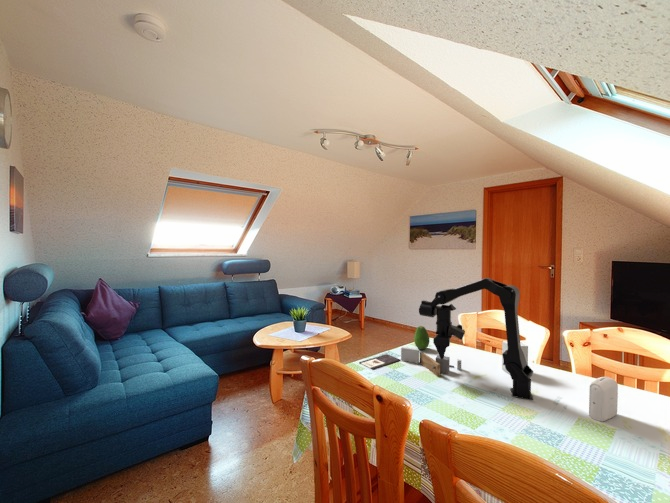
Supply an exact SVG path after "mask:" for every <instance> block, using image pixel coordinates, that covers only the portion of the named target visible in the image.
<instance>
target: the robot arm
mask: <svg viewBox="0 0 670 503" xmlns="http://www.w3.org/2000/svg"><path fill="white" fill-rule="evenodd" d="M482 290H486V291H489V292H490V293H491V294H493V295H495V296H497V297H498V298H499V302H500V304H501V306H502V308H503V312H504V322H505V323H504V324H505V332H506V341H507V345H508V350H506V351H505V352H504V353H503V354H501V356H502V355H503V359H504V363H503V365H505V368H506V370H507V371H508V372H509V373H510V374H509V375H510V378H511V380H512V387H510V391H511V396H512V397H514V398H520V399H525V400H531V401H534V397H533V394H532V379H531V377H532V376H533V374H534V370H533V369H532V368H531V367H530V366H529V364H528V365H527V363H526V359H525V356H524V353H523V351H522V349H521V345H520V342H521V337H520V336H521V335H520V328H519V327H520V325H519V317H518V309H519V308H518V307H519V303H520V297H521V295H520V294H521V291H520V289H519V288H518V287H517V286H515V285H513V284H506V283H502V282H500V281H496V280H494V279H492V278H491V277H485V278H482V279H480V280H477V281H474V282H471V283H468V284H465V285H462V286H458V287H456V288H447V289H443V290H439V291H436V293H435V295H434V299H433V300H432V301H428V300H421V302H420V303H421V304H420V305H419V308H418V314H419V316H422V317H428V318H434V317H436V321H435V325H436V330H435V336H434V337H433V342H432V343H433V345H434V346H435V349H436V351H437V353H438V355H439V356H440V358H441V359H443V358H444V356H445V353H446V350H447V348H448V347H450V346H451V338H452V337H455V338H458V339H459V340H463V338H464V336H465V333H466V330H465V329H463V325H461V324H457V325H454V324H453V322H452V320H451V319H452V315H451V314H452V312H454V311H455V310H457V307H455V306H454V305H453V303H451V302H453V301H455V300H456V299H458V298H460V297H462V296H463V297H464V296H466V295H468V294H472V293H476V292H478V291H482ZM448 303H450V304H449V305H447V304H448Z"/></svg>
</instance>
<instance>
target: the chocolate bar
mask: <svg viewBox="0 0 670 503" xmlns="http://www.w3.org/2000/svg"><path fill="white" fill-rule="evenodd" d="M400 360H401V358H397V357H394V356H393V355H390V354H387V353H386V354H382V355H378V356H376V357H373V358H369V359H366V360H362V361H359V364H360V365H362V366H364V367H367V368H369V369H370V370H372V371H374V370H377V369H380V368H383V367H386V366H389V365H391V364H395V363H398V362H401V361H400Z"/></svg>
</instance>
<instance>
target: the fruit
mask: <svg viewBox="0 0 670 503" xmlns="http://www.w3.org/2000/svg"><path fill="white" fill-rule="evenodd" d="M414 333H415V334H414V336H413V337H414V338H413V341H414V344H415V347H417V349H419V350H425V349H427V348H428V347H429V345H430V336H429V334H428V332H427V329H426V328H425V326H422V325H420V326H418V327H417V328H415V332H414Z"/></svg>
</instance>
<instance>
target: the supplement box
mask: <svg viewBox="0 0 670 503" xmlns="http://www.w3.org/2000/svg"><path fill="white" fill-rule="evenodd" d="M501 344H502V345H501V346H502V347H501V350H502V351H501V353H502V354H503V353H504V352H505V351H506V350H508V345H507V340H503V341H502V343H501ZM520 345H521V349H522V351H523V353H524V356H525V359H526V363H527V365H528V366H529V362H528V361H529V345H526V344H525V343H523V342H521V341H520ZM502 354H501V357H502V358H501V369H502V370H503V371H504V372H505V373H507V374H508V375H510V373H509V372H508V371H507V370H506V368H505V365H503V363H504V359H503V355H502Z"/></svg>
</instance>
